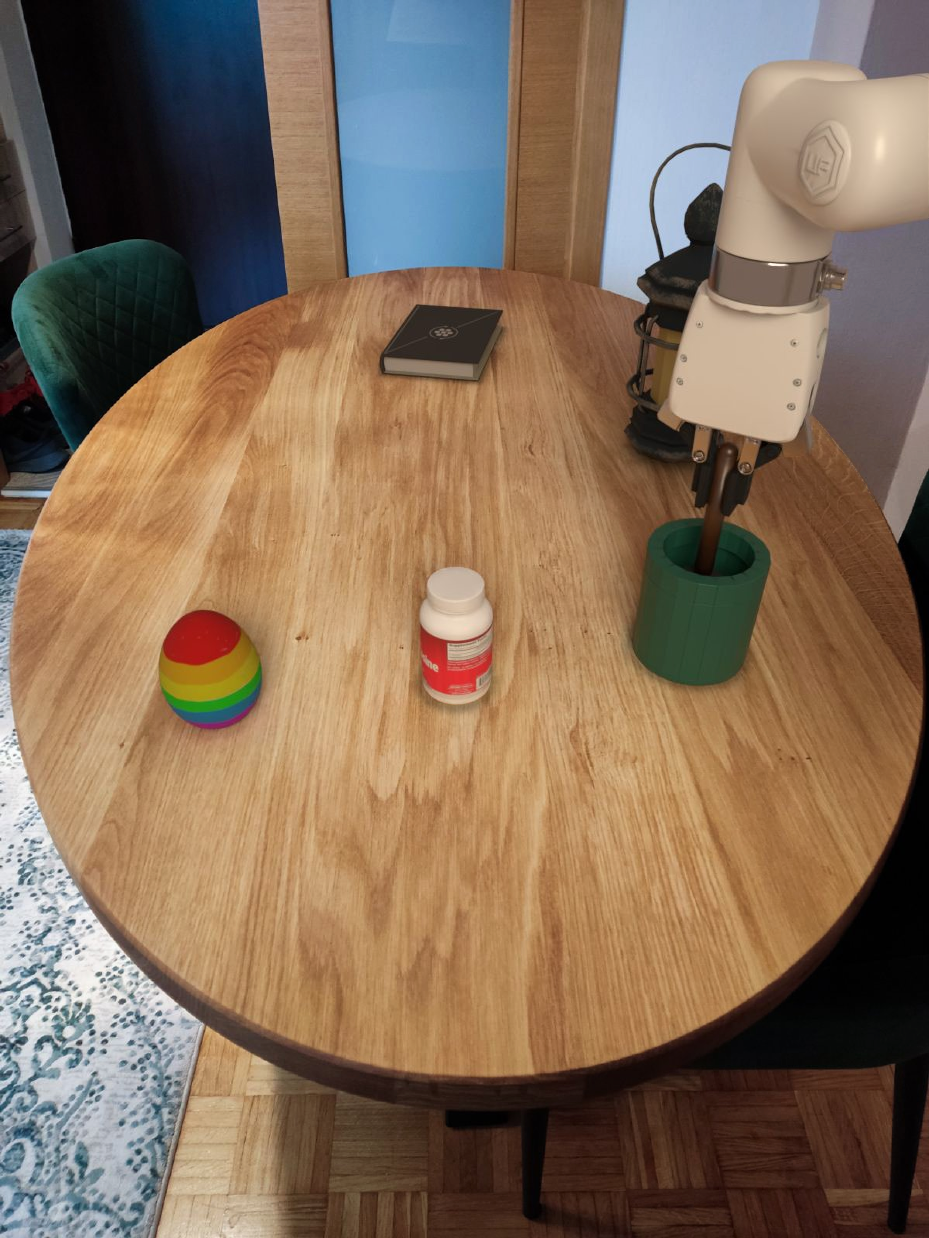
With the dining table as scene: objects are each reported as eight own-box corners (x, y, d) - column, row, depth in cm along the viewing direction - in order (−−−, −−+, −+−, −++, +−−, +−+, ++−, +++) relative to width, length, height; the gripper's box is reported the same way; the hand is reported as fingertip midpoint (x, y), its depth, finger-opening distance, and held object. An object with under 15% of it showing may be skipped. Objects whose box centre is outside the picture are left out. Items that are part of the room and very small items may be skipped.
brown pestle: (724, 599, 79) (762, 438, 69) (710, 624, 76) (747, 460, 66) (682, 586, 81) (713, 426, 70) (666, 609, 78) (696, 447, 68)
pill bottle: (418, 663, 80) (413, 564, 73) (484, 656, 81) (486, 557, 74) (426, 711, 75) (422, 609, 68) (497, 703, 76) (500, 602, 69)
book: (415, 321, 146) (414, 303, 145) (502, 328, 144) (503, 309, 142) (379, 374, 130) (378, 354, 128) (478, 382, 128) (478, 362, 126)
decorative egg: (227, 662, 80) (207, 573, 74) (287, 702, 76) (271, 611, 70) (151, 711, 75) (122, 620, 69) (210, 756, 71) (186, 664, 65)
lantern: (745, 445, 112) (812, 138, 90) (702, 487, 104) (764, 161, 82) (644, 416, 119) (684, 123, 97) (596, 454, 111) (628, 143, 89)
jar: (758, 635, 83) (785, 538, 76) (724, 700, 76) (750, 600, 69) (656, 602, 87) (672, 506, 80) (615, 660, 80) (629, 562, 73)
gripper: (896, 278, 60) (825, 510, 71) (675, 243, 66) (644, 461, 78) (874, 312, 55) (802, 555, 66) (637, 271, 61) (609, 499, 73)
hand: (717, 503), depth 72 cm, fingers closed on brown pestle, 1 cm apart
